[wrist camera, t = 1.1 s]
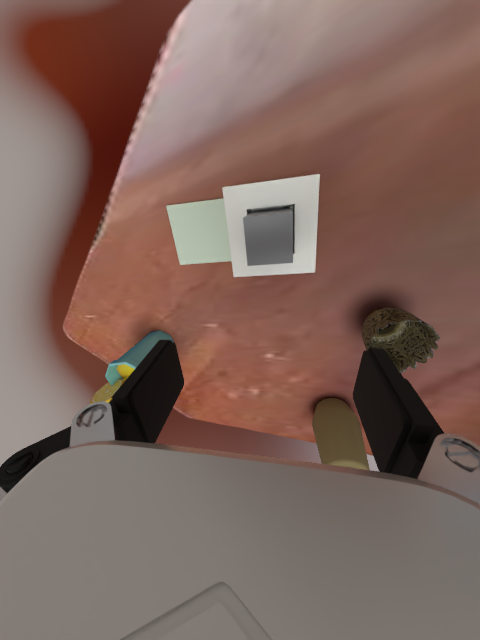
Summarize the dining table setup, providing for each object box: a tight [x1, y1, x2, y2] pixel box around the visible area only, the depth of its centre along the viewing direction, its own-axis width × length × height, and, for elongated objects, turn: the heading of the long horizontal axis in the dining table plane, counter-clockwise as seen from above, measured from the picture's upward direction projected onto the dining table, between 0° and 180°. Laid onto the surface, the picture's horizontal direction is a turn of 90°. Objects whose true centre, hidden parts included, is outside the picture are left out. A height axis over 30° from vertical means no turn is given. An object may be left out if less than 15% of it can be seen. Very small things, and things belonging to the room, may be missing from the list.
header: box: [222, 174, 320, 277], centre depth 28 cm, size 10×10×5 cm
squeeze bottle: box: [312, 398, 370, 470], centre depth 36 cm, size 8×8×18 cm
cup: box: [90, 330, 174, 404], centre depth 36 cm, size 14×8×15 cm, turn 128°
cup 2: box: [362, 307, 440, 373], centre depth 30 cm, size 8×7×8 cm
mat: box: [166, 198, 232, 265], centre depth 32 cm, size 8×8×1 cm
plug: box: [243, 207, 293, 266], centre depth 25 cm, size 4×4×10 cm
